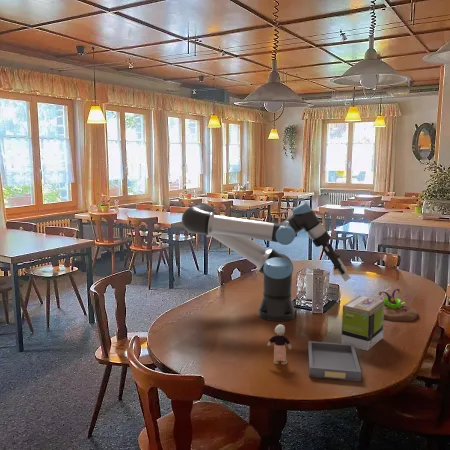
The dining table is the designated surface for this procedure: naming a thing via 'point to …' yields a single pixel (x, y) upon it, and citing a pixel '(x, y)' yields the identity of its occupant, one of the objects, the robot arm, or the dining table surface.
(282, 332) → the grandmother figurine
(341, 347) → the slot tray
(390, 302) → the plant
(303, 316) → the dining table surface
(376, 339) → the tea box
